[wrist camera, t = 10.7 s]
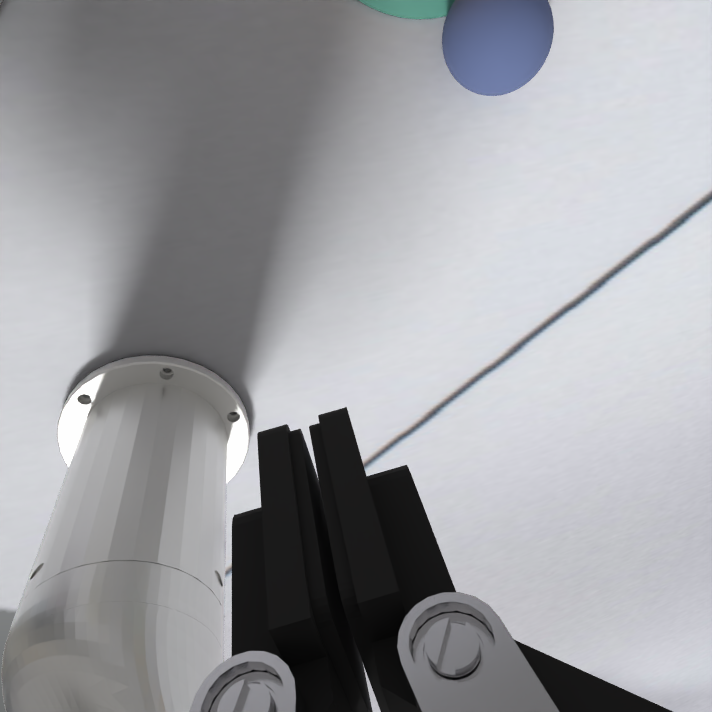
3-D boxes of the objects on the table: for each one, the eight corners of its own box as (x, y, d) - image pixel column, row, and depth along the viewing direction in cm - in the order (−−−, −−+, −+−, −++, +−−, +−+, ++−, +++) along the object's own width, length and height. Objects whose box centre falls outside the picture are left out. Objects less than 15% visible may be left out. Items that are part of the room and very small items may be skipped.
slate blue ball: (490, 43, 34) (524, 120, 33) (410, 34, 32) (442, 117, 30) (552, -46, 30) (594, 39, 28) (463, -65, 27) (504, 27, 26)
